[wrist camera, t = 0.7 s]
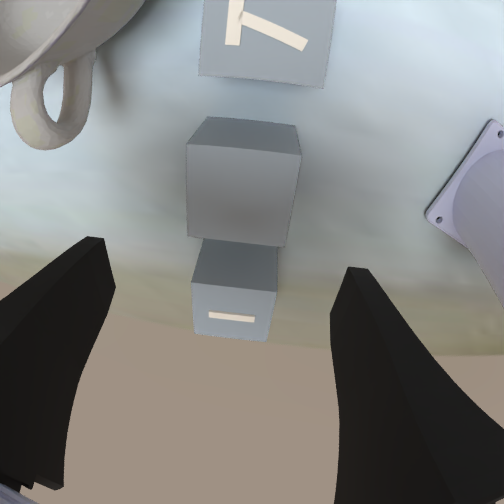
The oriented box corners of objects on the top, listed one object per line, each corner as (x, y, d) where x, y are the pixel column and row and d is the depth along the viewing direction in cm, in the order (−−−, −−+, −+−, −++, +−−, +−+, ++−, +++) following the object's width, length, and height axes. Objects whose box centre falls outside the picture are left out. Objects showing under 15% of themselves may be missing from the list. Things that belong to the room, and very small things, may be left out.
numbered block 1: (277, 240, 20) (277, 294, 16) (268, 290, 23) (266, 343, 19) (206, 232, 20) (190, 284, 16) (205, 283, 23) (193, 335, 19)
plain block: (294, 125, 15) (301, 155, 12) (283, 199, 18) (284, 247, 15) (207, 116, 15) (186, 143, 12) (205, 190, 18) (187, 236, 15)
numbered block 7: (321, -7, 11) (340, -23, 7) (310, 75, 14) (323, 89, 10) (226, -16, 11) (207, -37, 7) (218, 65, 14) (197, 76, 10)
